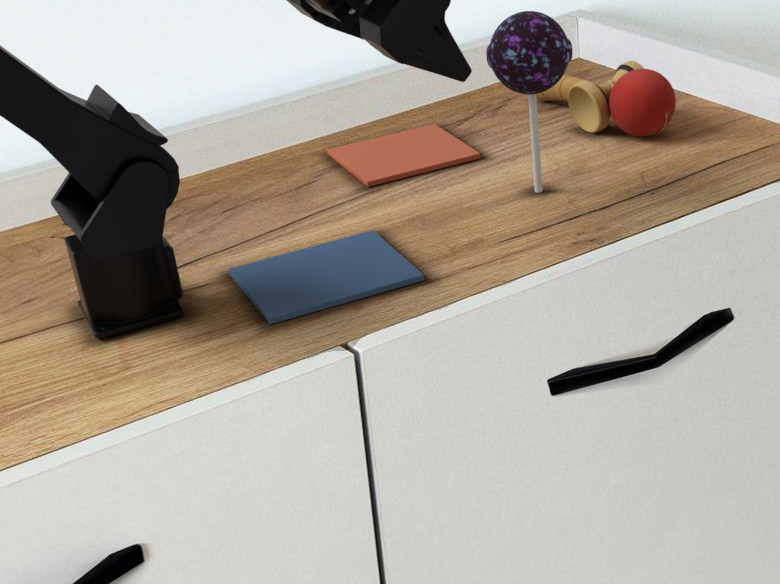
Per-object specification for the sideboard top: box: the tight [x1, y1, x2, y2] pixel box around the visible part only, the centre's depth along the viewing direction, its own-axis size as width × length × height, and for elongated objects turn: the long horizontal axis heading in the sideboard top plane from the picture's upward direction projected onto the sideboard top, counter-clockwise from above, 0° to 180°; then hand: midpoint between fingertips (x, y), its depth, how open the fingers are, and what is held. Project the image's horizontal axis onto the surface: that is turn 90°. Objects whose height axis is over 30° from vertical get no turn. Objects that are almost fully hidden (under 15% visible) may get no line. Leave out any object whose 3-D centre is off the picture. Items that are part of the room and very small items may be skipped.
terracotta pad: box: [326, 123, 482, 188], centre depth 120 cm, size 11×10×1 cm
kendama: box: [536, 60, 677, 137], centre depth 124 cm, size 8×6×18 cm
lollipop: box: [485, 10, 573, 194], centre depth 107 cm, size 7×7×15 cm
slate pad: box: [227, 229, 425, 325], centre depth 99 cm, size 12×10×1 cm
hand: (438, 62), depth 101 cm, fingers open, 9 cm apart
